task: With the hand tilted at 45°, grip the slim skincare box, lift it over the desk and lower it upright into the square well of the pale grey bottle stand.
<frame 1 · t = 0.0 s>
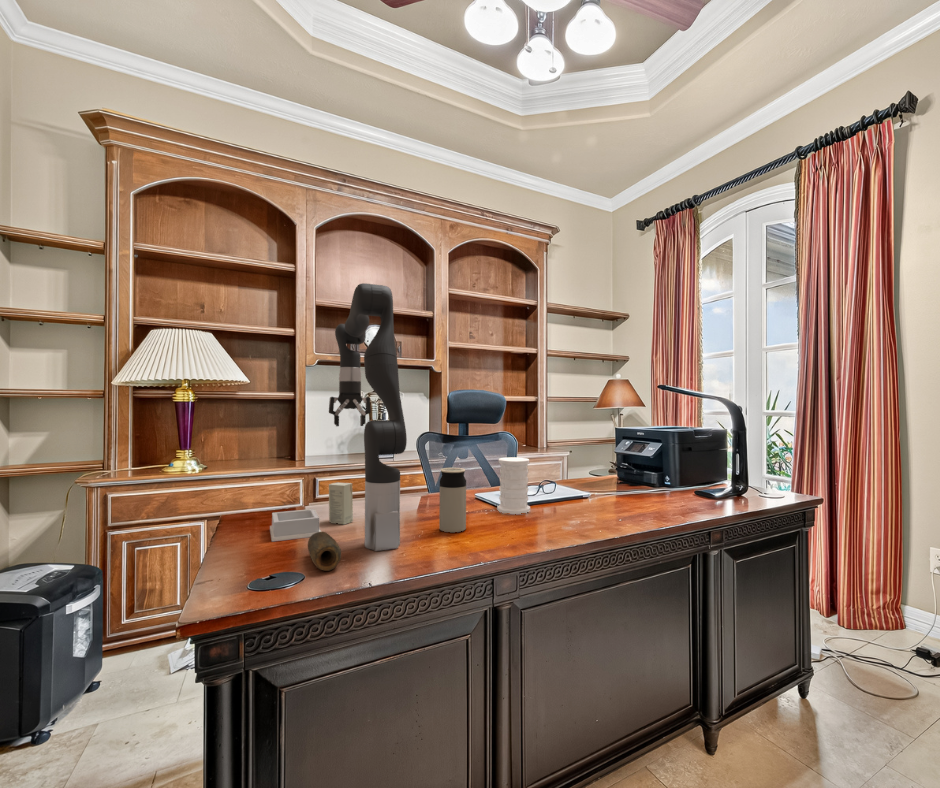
hand: (349, 426, 164), 29 cm above the table, tool pointing down, fingers open, 8 cm apart
decorative container: (513, 511, 163), on the table
skincare box: (340, 522, 146), on the table
bottle stand: (295, 532, 135), on the table
travel mug: (452, 530, 139), on the table
brown hollow cylinder: (323, 564, 110), on the table
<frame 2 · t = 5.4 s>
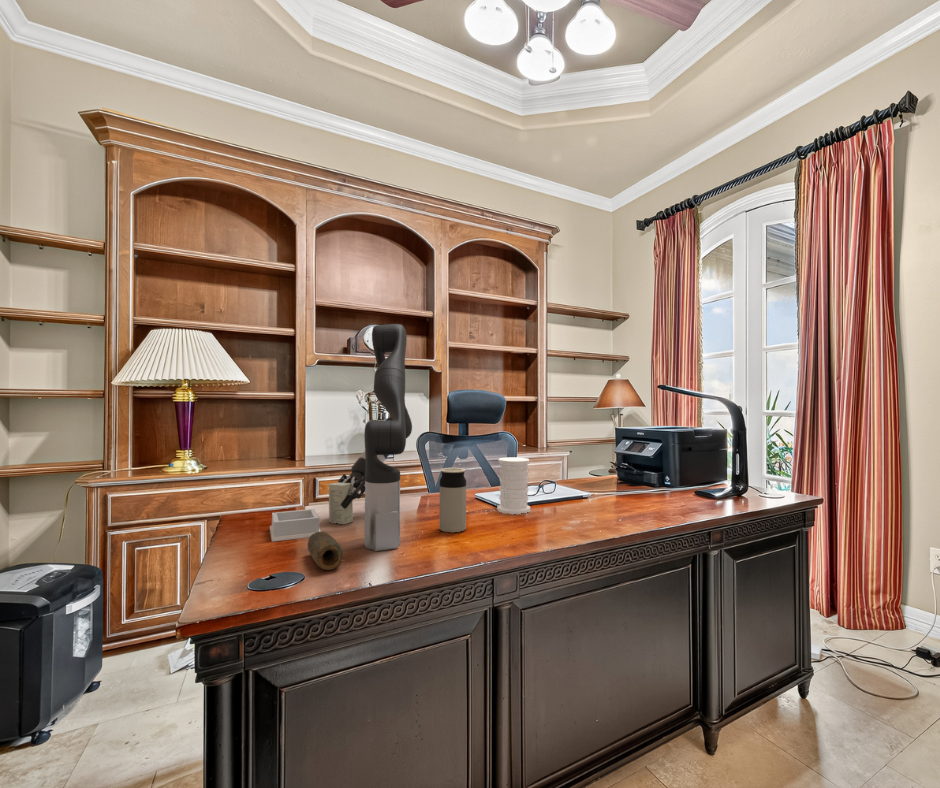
hand: (336, 504, 145), 6 cm above the table, tool tilted 45°, fingers closed on skincare box, 7 cm apart
skincare box: (340, 522, 146), on the table, touching gripper
everything else where it was.
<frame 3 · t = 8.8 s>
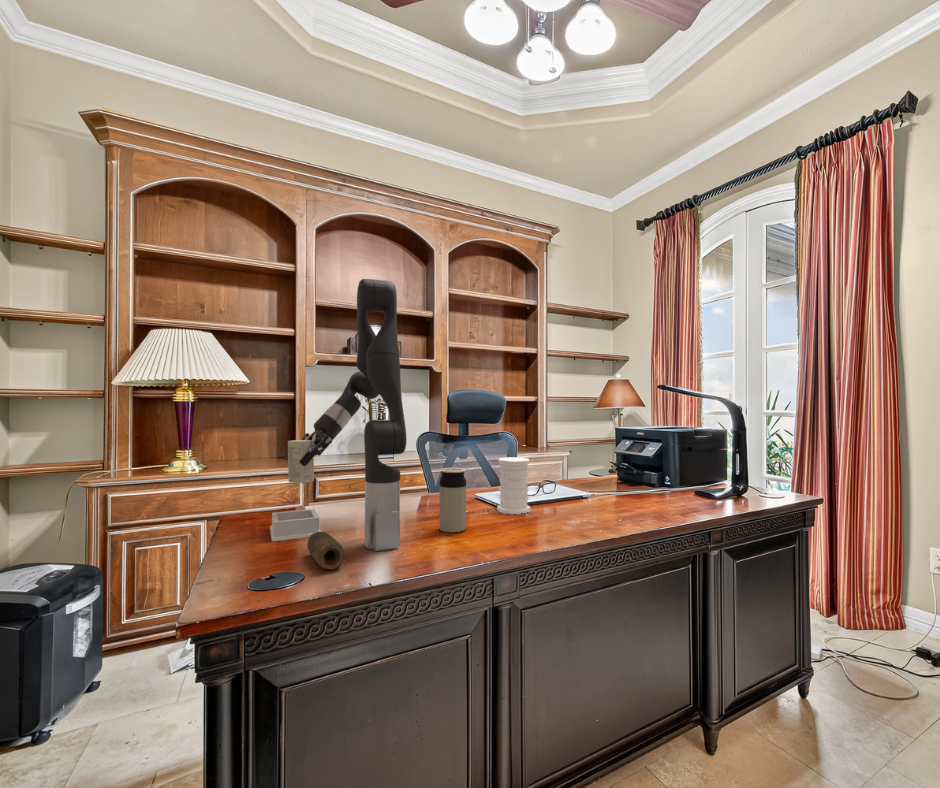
hand: (295, 462, 135), 20 cm above the table, tool tilted 45°, fingers closed on skincare box, 7 cm apart
skincare box: (300, 482, 136), point 14 cm above the table, touching gripper
everything else where it was.
when the fingers open (8 cm above the table, at t = 12.6 s): skincare box drops 1 cm, resting on bottle stand.
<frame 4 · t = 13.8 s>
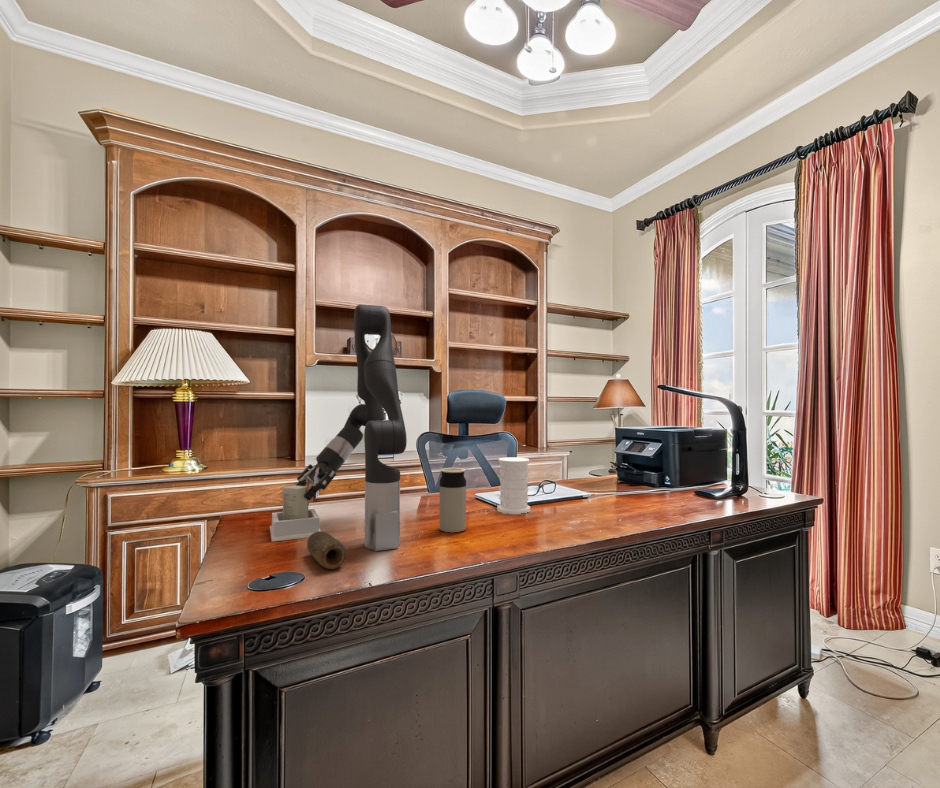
hand: (299, 496, 136), 10 cm above the table, tool tilted 45°, fingers open, 8 cm apart
skincare box: (295, 529, 135), point 1 cm above the table, touching bottle stand
everything else where it was.
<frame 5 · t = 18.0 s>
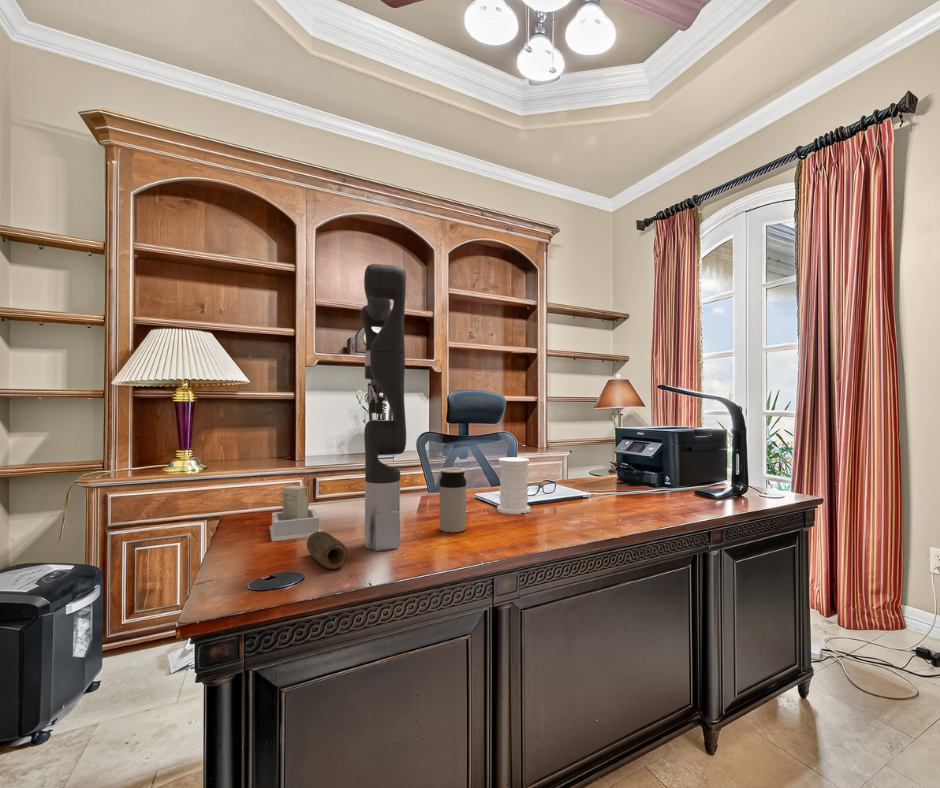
hand: (376, 413, 155), 34 cm above the table, tool pointing down, fingers open, 8 cm apart
nothing on the table moved.
at the end: skincare box 0.4 cm off-centre on the bottle stand, point 0.8 cm above the bottle stand's base; skincare box tilted 0°; the gripper is holding nothing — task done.
